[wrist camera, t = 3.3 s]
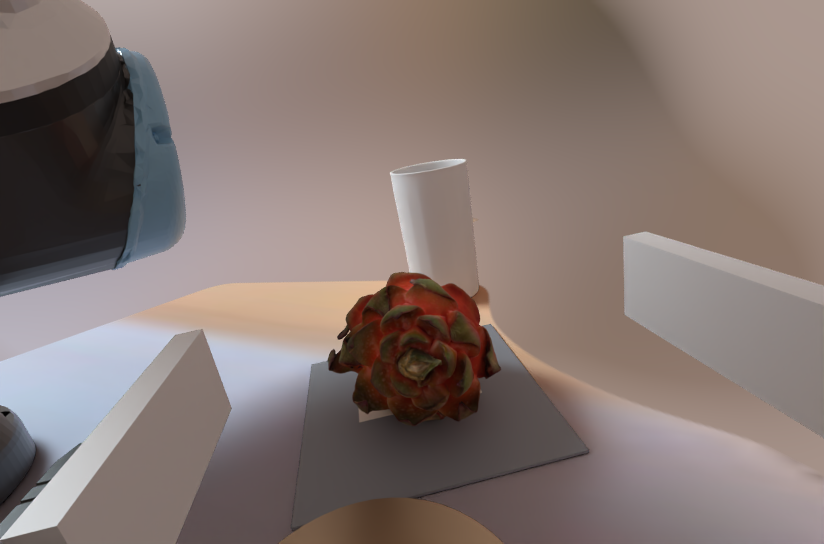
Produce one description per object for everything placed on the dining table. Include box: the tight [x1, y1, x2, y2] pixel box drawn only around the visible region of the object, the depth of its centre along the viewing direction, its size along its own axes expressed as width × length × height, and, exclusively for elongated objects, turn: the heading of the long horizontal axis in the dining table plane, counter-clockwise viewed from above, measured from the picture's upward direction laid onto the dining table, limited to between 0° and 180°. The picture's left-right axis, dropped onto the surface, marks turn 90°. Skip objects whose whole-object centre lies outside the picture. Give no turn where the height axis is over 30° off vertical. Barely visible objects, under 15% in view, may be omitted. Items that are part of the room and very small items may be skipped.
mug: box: [390, 159, 479, 297], centre depth 40 cm, size 10×7×12 cm, turn 26°
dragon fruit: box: [328, 272, 501, 426], centre depth 25 cm, size 8×8×12 cm
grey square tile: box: [291, 324, 589, 530], centre depth 26 cm, size 14×14×1 cm
